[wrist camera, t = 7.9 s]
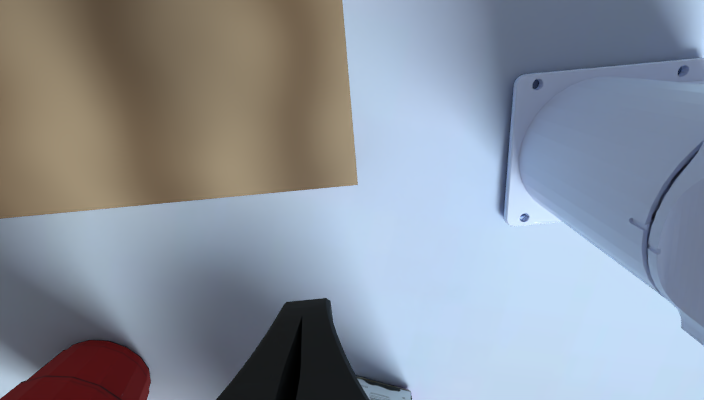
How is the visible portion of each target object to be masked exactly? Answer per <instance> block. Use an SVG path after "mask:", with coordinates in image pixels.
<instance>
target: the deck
mask: <svg viewBox="0 0 704 400" xmlns="http://www.w3.org/2000/svg"><path fill="white" fill-rule="evenodd" d="M350 185H358V182H357V170H356V159H355V147H354V135H353V123H352V111H351V99H350V87H349V75H348V64H347V52H346V40H345V28H344V16H343V4H342V0H0V219H1V218H11V217H22V216H33V215H43V214H54V213H64V212H75V211H85V210H96V209H107V208H117V207H128V206H138V205H149V204H160V203H170V202H181V201H191V200H202V199H212V198H223V197H234V196H244V195H255V194H265V193H276V192H286V191H297V190H308V189H318V188H329V187H339V186H350Z"/></svg>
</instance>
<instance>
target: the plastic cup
mask: <svg viewBox="0 0 704 400" xmlns="http://www.w3.org/2000/svg"><path fill="white" fill-rule="evenodd" d="M150 383H151V381H150V373H149V369H148V368H147V366H146V365H145V363H144V362H143V360H142V359H141V357H139V356H138V355H137V354H135V353H134V352H132V351H131V350H130V349H128V348H127V347H124V346H121V345H118V344H116V343H113V342H110V341H98V340H88V341H84V342H81V343H77V344H74V345H72V346H71V347H70V348H68V349H67V350H63V351H62V352H61V353H60V354H58V355H57V356H56V357H55V358H54V359H52V360H51V361H50V362H49V363H47V364H46V365H45V366H44V367H43V368H41V369H40V370H39V371H38V372H36V373H35V374H34V375H33V376H31V377H30V378H29V379H28V380H27V381H23V382H21V383H20V384H19V385H17V386H16V387H15V388H14V389H12V390H11V391H10V392H8V393H7V394H6V395H5V396H3V397H2V398H1V399H0V400H147V397H148V394H149V386H150Z"/></svg>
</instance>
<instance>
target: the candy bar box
mask: <svg viewBox="0 0 704 400" xmlns="http://www.w3.org/2000/svg"><path fill="white" fill-rule="evenodd" d="M356 377H357V376H356ZM357 379H358V381H359V383H360V384H361V386H362V388H363V389H364V391H365V393H366V394H367V396H368V398H369V399H370V400H412V396H411V391H410V390H407V389H404V388H400V387H396V386H392V385H387V384H383V383H380V382H377V381H373V380H369V379H365V378H362V377H357Z"/></svg>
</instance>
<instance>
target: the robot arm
mask: <svg viewBox="0 0 704 400" xmlns="http://www.w3.org/2000/svg"><path fill="white" fill-rule="evenodd" d="M680 67H682V71H681V73H680V74H679V75H678V70H679V68H680ZM536 79H538V80H539V85H538V87H537V88H536V89H533V86H532V84H533V82H534V81H535V80H536ZM524 213H526V216H525V217H524V218H523V219H520V216H521V215H522V214H524ZM504 220H505V222H506V223H507V224H508V225H510V226H524V225H535V224H545V223H556V222H564V223H565V224H566V225H568V226H569V227H570V228H572V229H573V230H574V231H576V232H577V233H578V234H580V235H581V236H582V237H584V238H585V239H586V240H588V241H589V242H590V243H592V244H593V245H595V246H596V247H597V248H599V249H600V250H601V251H603V252H604V253H605V254H607V255H608V256H609V257H611V258H612V259H613V260H615V261H616V262H617V263H619V264H620V265H621V266H623V267H624V268H625V269H627V270H628V271H629V272H631V273H632V274H633V275H635V276H636V277H637V278H639V279H640V280H642V281H643V282H644V283H646V284H647V285H648V286H650V287H651V288H652V289H654V290H655V291H656V292H658V293H659V294H660V295H662V296H663V297H664V298H666V299H667V300H668V301H669V302H671V303H672V304H673V305H674V306H675V307H676V308H677V309H678V311H679V313H680V316H681V328H682V329H683V330H684V331H686V332H687V333H688V334H689V335H691V336H692V337H693V338H694V339H696V340H697V341H698V342H699V343H701V344H702V345H703V346H704V58H693V59H683V60H672V61H661V62H650V63H639V64H629V65H618V66H607V67H596V68H585V69H575V70H564V71H553V72H542V73H531V74H524V75H521V76H519V77H518V78H517V79H516V81H515V83H514V89H513V102H512V115H511V128H510V141H509V154H508V168H507V181H506V194H505V207H504ZM216 400H370V399H369V398H368V396H367V394H366V393H365V391H364V389H363V388H362V386H361V384H360V383H359V381H358V379H357V377H356V375H355V373H354V372H353V370H352V368H351V366H350V363H349V361H348V359H347V357H346V355H345V353H344V351H343V348H342V346H341V343H340V341H339V338H338V336H337V333H336V330H335V327H334V323H333V318H332V310H331V303H330V301H329V300H328V299H327V298H323V299H313V300H303V301H292V302H286V303H285V304H284V306H283V307H282V309H281V311H280V312H279V314H278V316H277V317H276V319H275V321H274V322H273V324H272V326H271V327H270V329H269V330H268V332H267V333H266V335H265V336H264V338H263V339H262V341H261V342H260V344H259V345H258V347H257V348H256V350H255V351H254V353H253V354H252V355H251V357H250V358H249V359H248V361H247V362H246V363H245V365H244V366H243V367H242V369H241V370H240V371H239V372H238V374H237V375H236V376H235V378H234V379H233V380H232V381H231V383H230V384H229V385H228V386H227V387H226V389H225V390H224V391H223V392H222V393H221V395H220V396H219V397H218V398H217V399H216Z"/></svg>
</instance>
